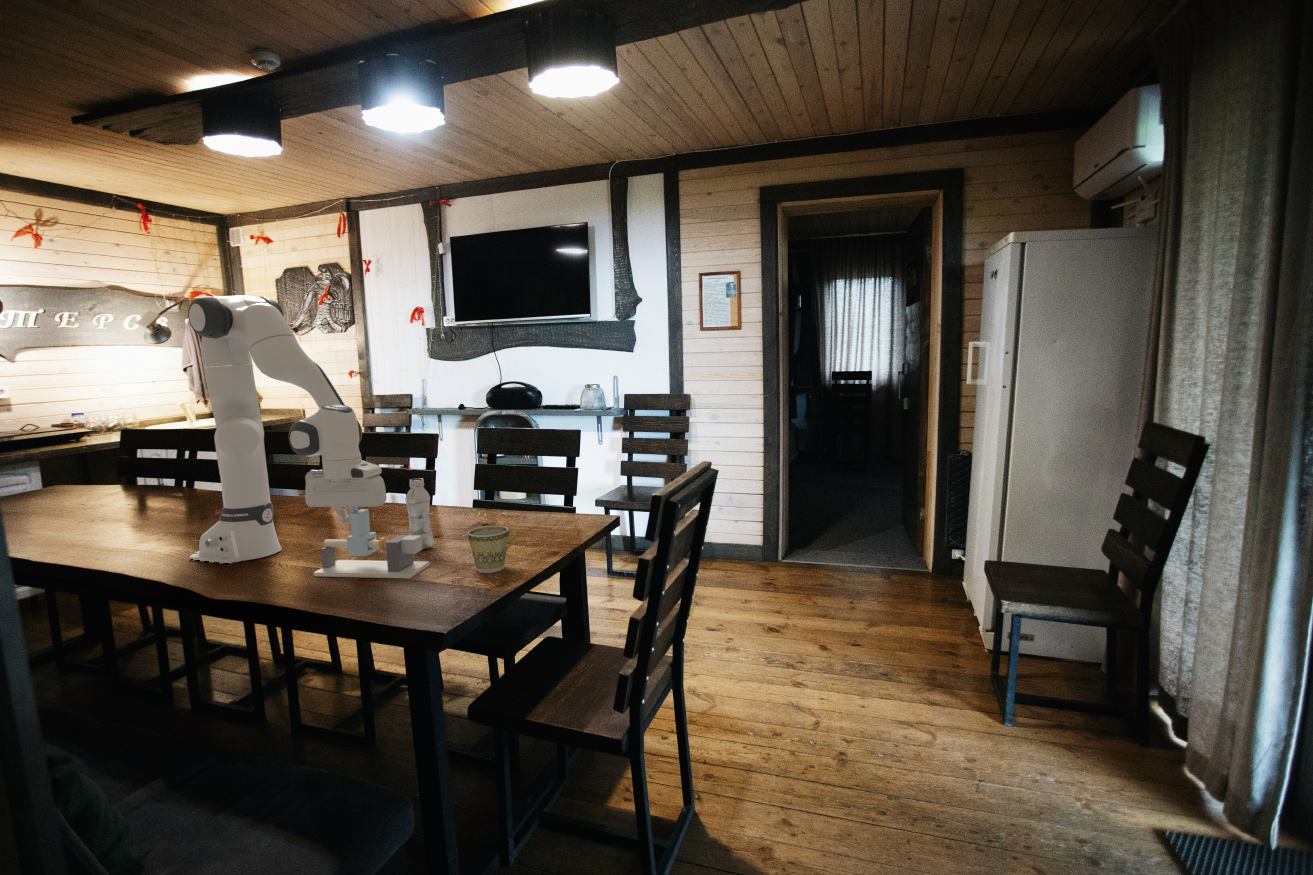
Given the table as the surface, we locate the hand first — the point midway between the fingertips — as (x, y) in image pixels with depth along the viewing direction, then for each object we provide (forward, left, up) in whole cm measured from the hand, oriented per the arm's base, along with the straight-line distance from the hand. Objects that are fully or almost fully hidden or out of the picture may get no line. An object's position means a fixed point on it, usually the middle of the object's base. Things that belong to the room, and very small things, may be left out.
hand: (348, 523), depth 162 cm
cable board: (+6, 0, -12) cm, 14 cm away
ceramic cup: (+37, +4, -13) cm, 39 cm away
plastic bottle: (+9, +19, -13) cm, 25 cm away
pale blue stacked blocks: (+3, 0, -8) cm, 8 cm away
